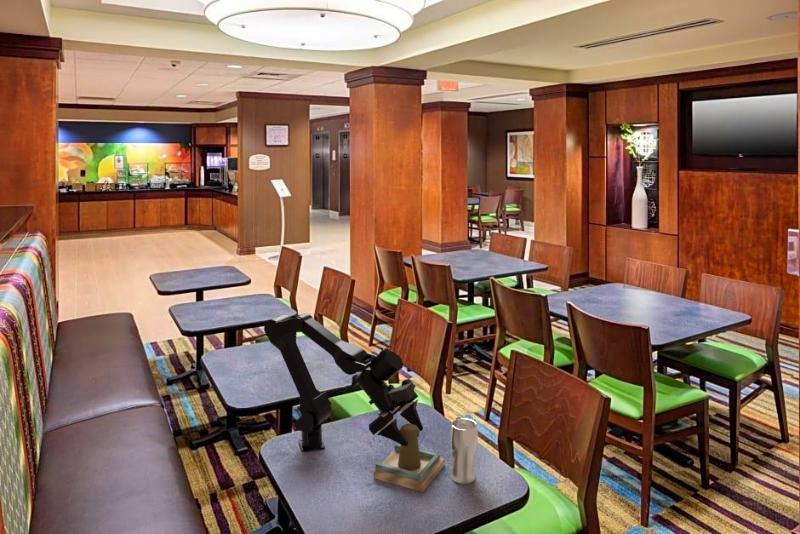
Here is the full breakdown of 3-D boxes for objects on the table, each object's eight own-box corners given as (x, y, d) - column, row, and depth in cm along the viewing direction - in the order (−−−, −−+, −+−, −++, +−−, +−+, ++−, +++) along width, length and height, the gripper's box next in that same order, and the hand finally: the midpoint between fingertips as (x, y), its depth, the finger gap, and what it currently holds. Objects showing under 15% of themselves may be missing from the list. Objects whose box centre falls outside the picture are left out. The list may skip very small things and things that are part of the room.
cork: (424, 468, 154) (424, 429, 152) (402, 472, 152) (402, 433, 150) (415, 457, 160) (416, 419, 158) (394, 461, 158) (394, 422, 156)
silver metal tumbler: (461, 467, 159) (462, 415, 156) (482, 477, 154) (483, 424, 151) (443, 477, 154) (444, 424, 151) (464, 488, 149) (466, 433, 146)
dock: (373, 478, 153) (373, 465, 153) (397, 453, 166) (397, 441, 165) (423, 492, 147) (423, 479, 147) (444, 465, 160) (444, 453, 159)
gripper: (379, 386, 145) (420, 437, 142) (412, 361, 161) (449, 407, 158) (351, 409, 150) (390, 460, 147) (386, 383, 166) (421, 428, 163)
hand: (414, 437), depth 154 cm, fingers open, 9 cm apart
